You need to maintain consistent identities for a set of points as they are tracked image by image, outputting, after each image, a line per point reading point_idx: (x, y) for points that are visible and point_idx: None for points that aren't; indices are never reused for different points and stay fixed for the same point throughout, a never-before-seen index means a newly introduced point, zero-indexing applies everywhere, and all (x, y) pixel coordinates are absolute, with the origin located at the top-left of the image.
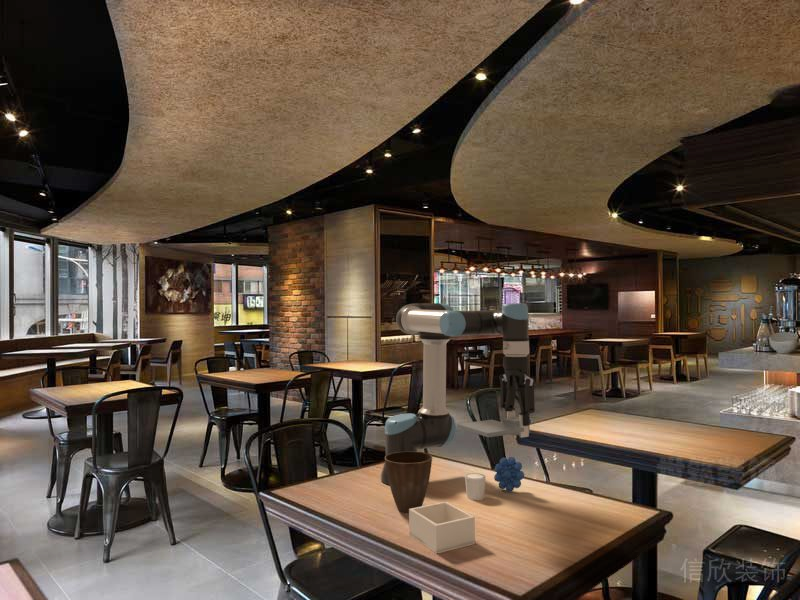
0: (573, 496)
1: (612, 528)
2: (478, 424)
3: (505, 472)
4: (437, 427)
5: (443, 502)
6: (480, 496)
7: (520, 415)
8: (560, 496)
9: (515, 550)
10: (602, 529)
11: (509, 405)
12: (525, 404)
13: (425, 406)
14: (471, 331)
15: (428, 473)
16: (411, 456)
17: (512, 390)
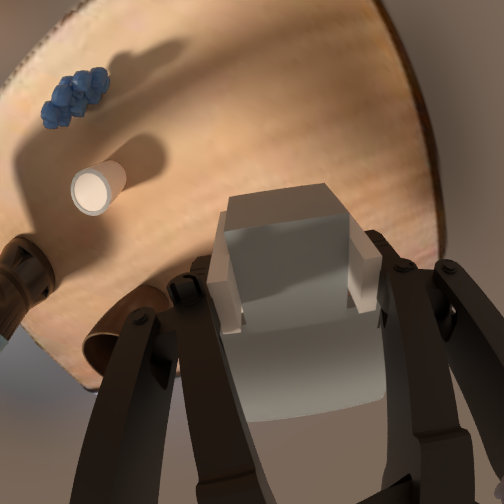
0: None
1: (361, 20)
2: (255, 396)
3: (76, 110)
4: None
5: (242, 310)
6: (123, 175)
7: (369, 307)
8: (160, 3)
9: (366, 224)
10: (359, 37)
11: (224, 353)
12: (446, 352)
13: None
14: None
15: None
16: (88, 341)
17: (262, 475)
